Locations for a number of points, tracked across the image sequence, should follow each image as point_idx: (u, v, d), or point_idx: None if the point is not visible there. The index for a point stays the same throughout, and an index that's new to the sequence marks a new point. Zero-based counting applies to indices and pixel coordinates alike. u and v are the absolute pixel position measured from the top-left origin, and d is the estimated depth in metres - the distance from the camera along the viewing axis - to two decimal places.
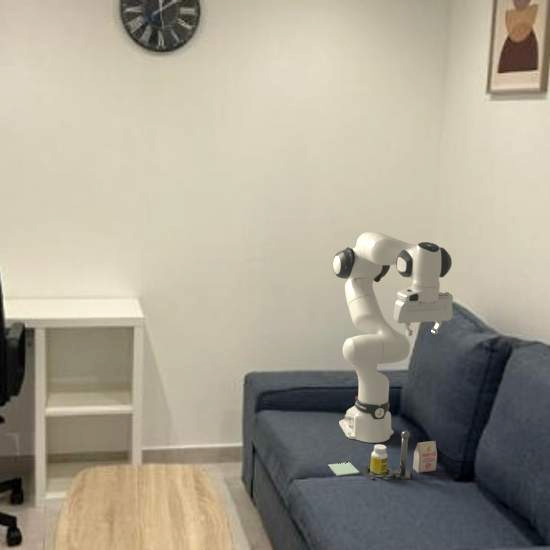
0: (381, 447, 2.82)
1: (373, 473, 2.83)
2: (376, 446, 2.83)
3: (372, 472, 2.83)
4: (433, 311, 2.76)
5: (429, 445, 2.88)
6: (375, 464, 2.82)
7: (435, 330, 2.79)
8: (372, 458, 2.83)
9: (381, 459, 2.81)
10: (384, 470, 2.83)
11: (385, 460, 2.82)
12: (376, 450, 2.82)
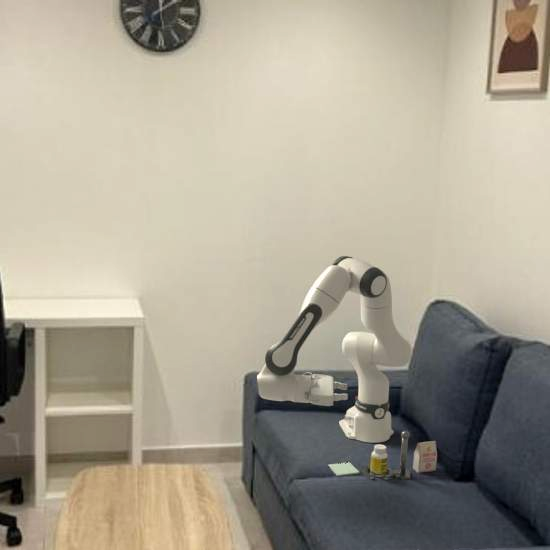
0: (381, 447, 2.82)
1: (373, 473, 2.83)
2: (376, 446, 2.83)
3: (372, 472, 2.83)
4: None
5: (429, 445, 2.88)
6: (375, 464, 2.82)
7: None
8: (372, 458, 2.83)
9: (381, 459, 2.81)
10: (384, 470, 2.83)
11: (385, 460, 2.82)
12: (376, 450, 2.82)
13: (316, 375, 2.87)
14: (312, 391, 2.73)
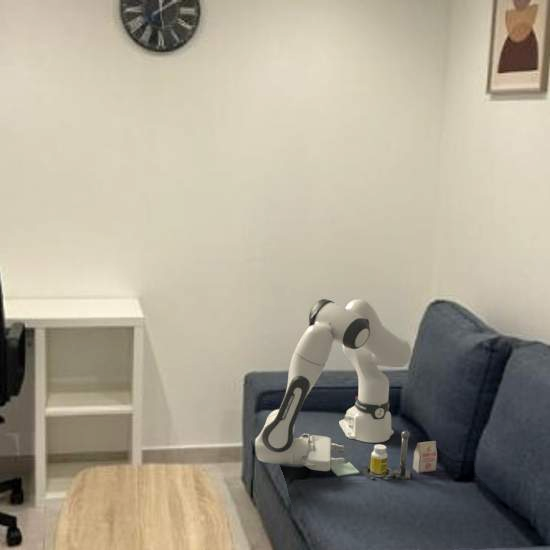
0: (381, 447, 2.82)
1: (373, 473, 2.83)
2: (376, 446, 2.83)
3: (372, 472, 2.83)
4: None
5: (429, 445, 2.88)
6: (375, 464, 2.82)
7: None
8: (372, 458, 2.83)
9: (381, 459, 2.81)
10: (384, 470, 2.83)
11: (385, 460, 2.82)
12: (376, 450, 2.82)
13: (314, 437, 2.92)
14: (309, 456, 2.78)
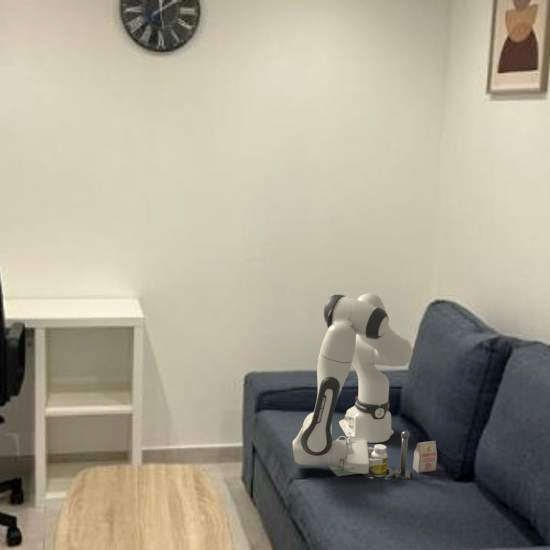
0: (381, 447, 2.82)
1: (373, 473, 2.83)
2: (376, 446, 2.83)
3: (372, 472, 2.83)
4: None
5: (429, 445, 2.88)
6: None
7: None
8: (372, 458, 2.83)
9: None
10: (384, 470, 2.83)
11: (385, 460, 2.82)
12: (376, 450, 2.82)
13: (350, 439, 2.91)
14: (348, 459, 2.77)
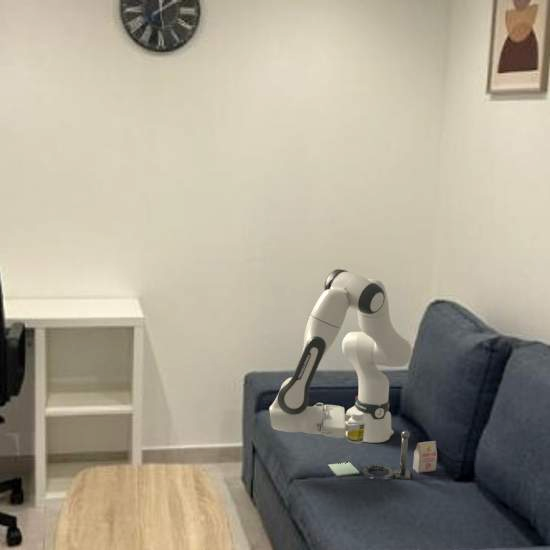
0: (358, 413, 2.81)
1: (350, 439, 2.82)
2: (353, 412, 2.82)
3: (349, 438, 2.82)
4: None
5: (429, 445, 2.88)
6: (352, 431, 2.81)
7: None
8: (349, 424, 2.81)
9: None
10: (361, 436, 2.81)
11: (362, 426, 2.81)
12: (353, 416, 2.80)
13: (328, 406, 2.90)
14: (324, 423, 2.76)
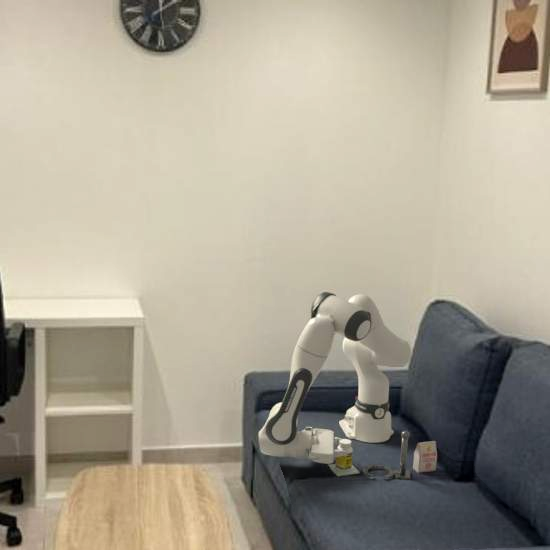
0: (346, 442, 2.84)
1: (338, 467, 2.85)
2: (341, 441, 2.85)
3: (337, 466, 2.85)
4: None
5: (429, 445, 2.88)
6: (340, 459, 2.84)
7: None
8: None
9: None
10: (349, 464, 2.85)
11: (350, 454, 2.84)
12: (341, 445, 2.83)
13: (317, 430, 2.93)
14: (313, 449, 2.79)
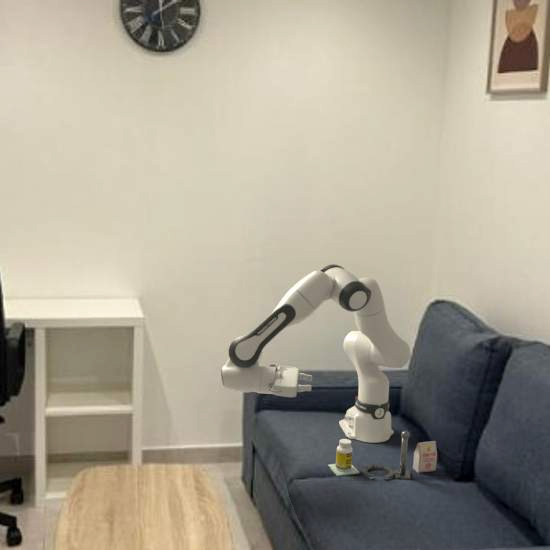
0: (346, 441, 2.84)
1: (338, 467, 2.85)
2: (341, 440, 2.85)
3: (337, 466, 2.85)
4: None
5: (429, 445, 2.88)
6: (340, 459, 2.84)
7: None
8: (337, 452, 2.85)
9: (346, 454, 2.83)
10: (349, 464, 2.85)
11: (350, 454, 2.84)
12: (341, 444, 2.84)
13: (282, 366, 2.89)
14: (276, 383, 2.75)
